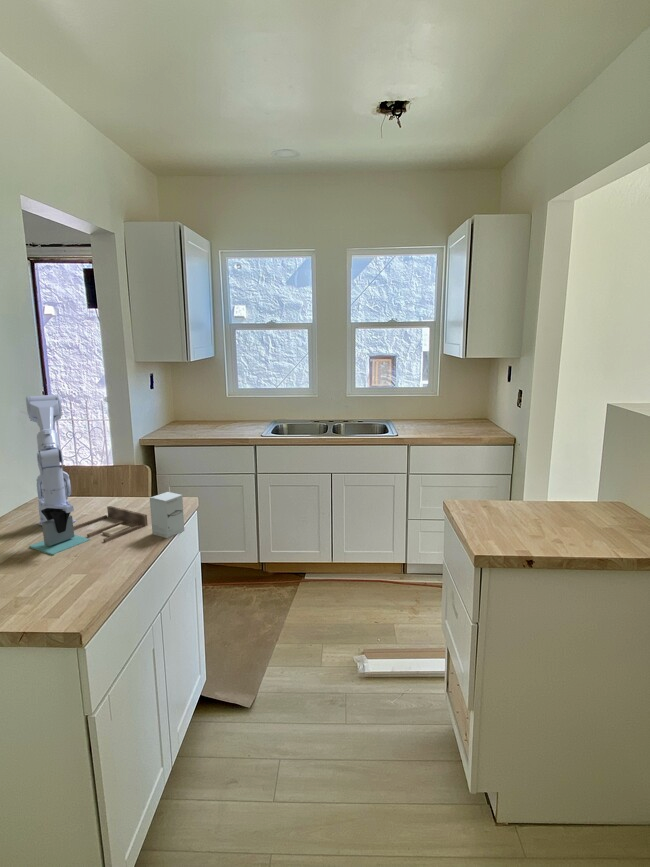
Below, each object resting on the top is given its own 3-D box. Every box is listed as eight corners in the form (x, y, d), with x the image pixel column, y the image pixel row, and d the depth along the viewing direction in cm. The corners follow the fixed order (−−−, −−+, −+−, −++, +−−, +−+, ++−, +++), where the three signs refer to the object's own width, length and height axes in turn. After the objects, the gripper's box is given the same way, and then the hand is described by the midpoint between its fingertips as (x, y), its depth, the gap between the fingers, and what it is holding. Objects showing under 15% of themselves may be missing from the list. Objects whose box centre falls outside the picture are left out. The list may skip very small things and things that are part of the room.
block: (44, 544, 144) (41, 522, 143) (69, 535, 151) (67, 514, 150) (49, 546, 143) (46, 524, 142) (74, 536, 150) (72, 515, 149)
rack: (68, 532, 157) (66, 520, 156) (110, 516, 171) (109, 505, 170) (105, 543, 148) (104, 531, 147) (147, 526, 162) (146, 514, 161)
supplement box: (167, 539, 150) (164, 500, 148) (151, 534, 154) (148, 497, 152) (185, 531, 157) (182, 494, 154) (170, 527, 160) (167, 490, 158)
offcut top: (102, 534, 154) (102, 531, 154) (120, 527, 160) (120, 524, 160) (111, 536, 152) (111, 534, 152) (130, 529, 158) (129, 526, 158)
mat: (29, 547, 145) (29, 545, 145) (67, 533, 156) (66, 532, 156) (53, 555, 140) (52, 553, 140) (90, 540, 150) (90, 539, 150)
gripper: (26, 488, 144) (31, 531, 147) (55, 495, 137) (60, 540, 140) (49, 482, 150) (54, 523, 153) (78, 488, 143) (82, 531, 146)
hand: (58, 531), depth 147 cm, fingers closed on block, 2 cm apart
